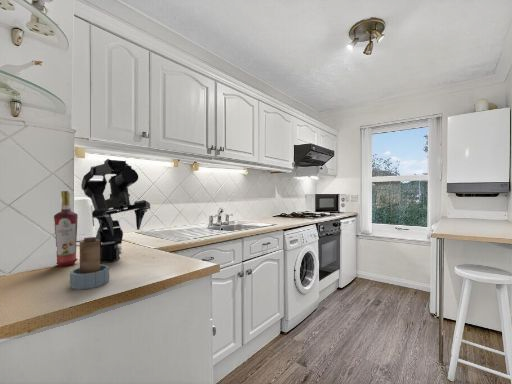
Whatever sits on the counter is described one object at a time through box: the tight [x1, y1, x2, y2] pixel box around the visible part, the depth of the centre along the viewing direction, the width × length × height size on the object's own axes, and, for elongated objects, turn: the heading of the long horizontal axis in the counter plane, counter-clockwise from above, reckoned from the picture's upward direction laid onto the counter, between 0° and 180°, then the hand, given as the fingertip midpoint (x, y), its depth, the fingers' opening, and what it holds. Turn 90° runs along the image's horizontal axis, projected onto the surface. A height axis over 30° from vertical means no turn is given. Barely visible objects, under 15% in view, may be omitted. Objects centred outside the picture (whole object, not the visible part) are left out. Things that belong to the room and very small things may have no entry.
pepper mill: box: [79, 236, 101, 274], centre depth 80 cm, size 5×5×13 cm
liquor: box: [53, 190, 79, 267], centre depth 100 cm, size 7×7×28 cm
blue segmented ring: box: [69, 264, 110, 291], centre depth 80 cm, size 10×10×4 cm
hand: (125, 232), depth 96 cm, fingers open, 9 cm apart
